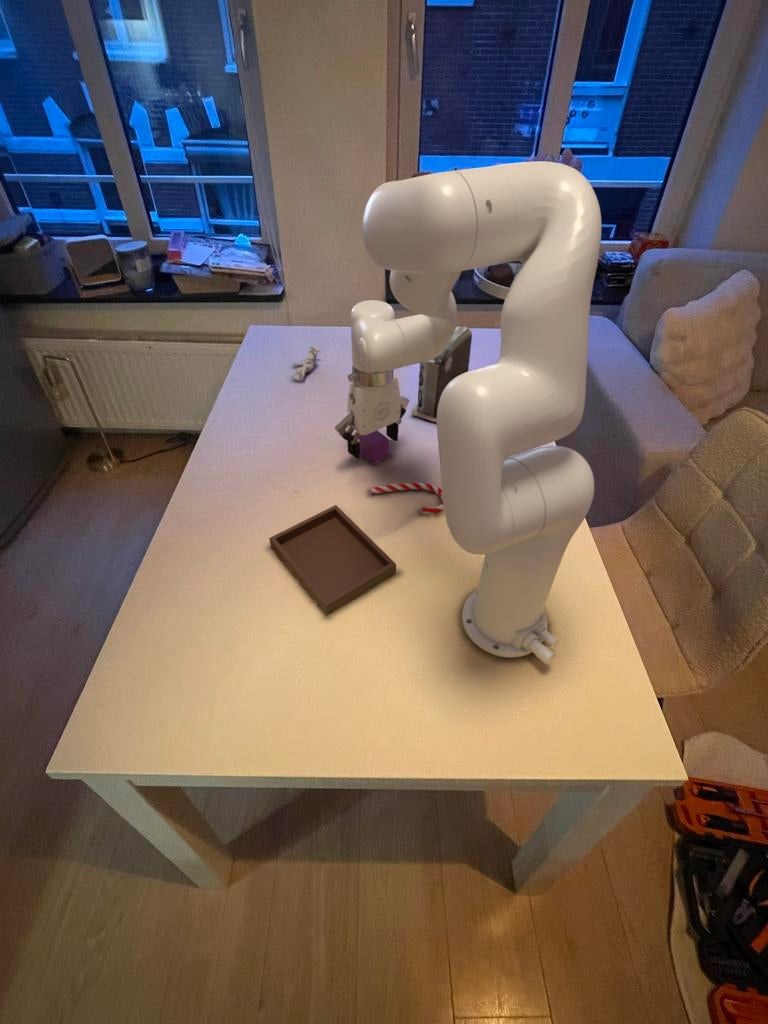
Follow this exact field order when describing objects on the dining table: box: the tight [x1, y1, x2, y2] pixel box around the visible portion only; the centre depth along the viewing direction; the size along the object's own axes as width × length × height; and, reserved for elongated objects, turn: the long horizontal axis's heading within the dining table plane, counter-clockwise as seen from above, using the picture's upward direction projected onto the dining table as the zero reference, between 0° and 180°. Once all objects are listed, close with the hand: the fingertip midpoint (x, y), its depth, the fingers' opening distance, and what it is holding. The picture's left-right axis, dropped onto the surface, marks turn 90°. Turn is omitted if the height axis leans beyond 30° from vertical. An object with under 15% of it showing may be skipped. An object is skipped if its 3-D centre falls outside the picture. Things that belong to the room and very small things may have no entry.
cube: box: [358, 430, 390, 465], centre depth 108 cm, size 5×4×4 cm
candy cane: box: [369, 482, 444, 515], centre depth 99 cm, size 8×1×15 cm
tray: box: [268, 504, 397, 616], centre depth 88 cm, size 18×14×2 cm
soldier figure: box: [290, 345, 322, 382], centre depth 133 cm, size 8×5×12 cm
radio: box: [411, 324, 473, 423], centre depth 120 cm, size 23×9×15 cm, turn 146°
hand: (373, 446), depth 108 cm, fingers open, 9 cm apart
